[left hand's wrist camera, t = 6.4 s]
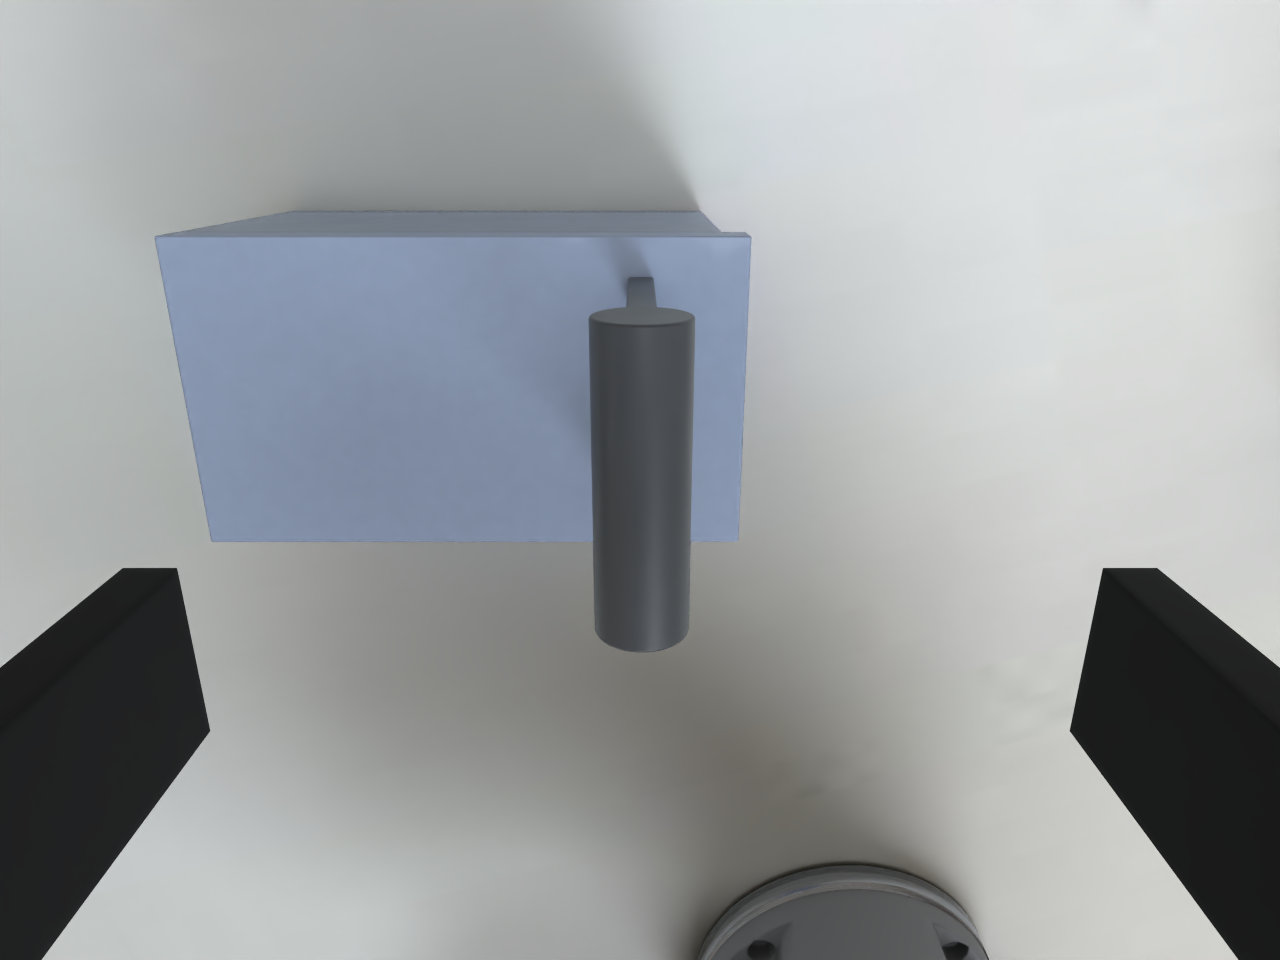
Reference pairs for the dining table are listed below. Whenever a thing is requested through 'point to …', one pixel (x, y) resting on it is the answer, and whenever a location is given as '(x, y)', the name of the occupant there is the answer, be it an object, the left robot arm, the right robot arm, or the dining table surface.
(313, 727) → the dining table surface
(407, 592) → the dining table surface
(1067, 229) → the dining table surface
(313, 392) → the lid
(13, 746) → the left robot arm
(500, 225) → the chest
